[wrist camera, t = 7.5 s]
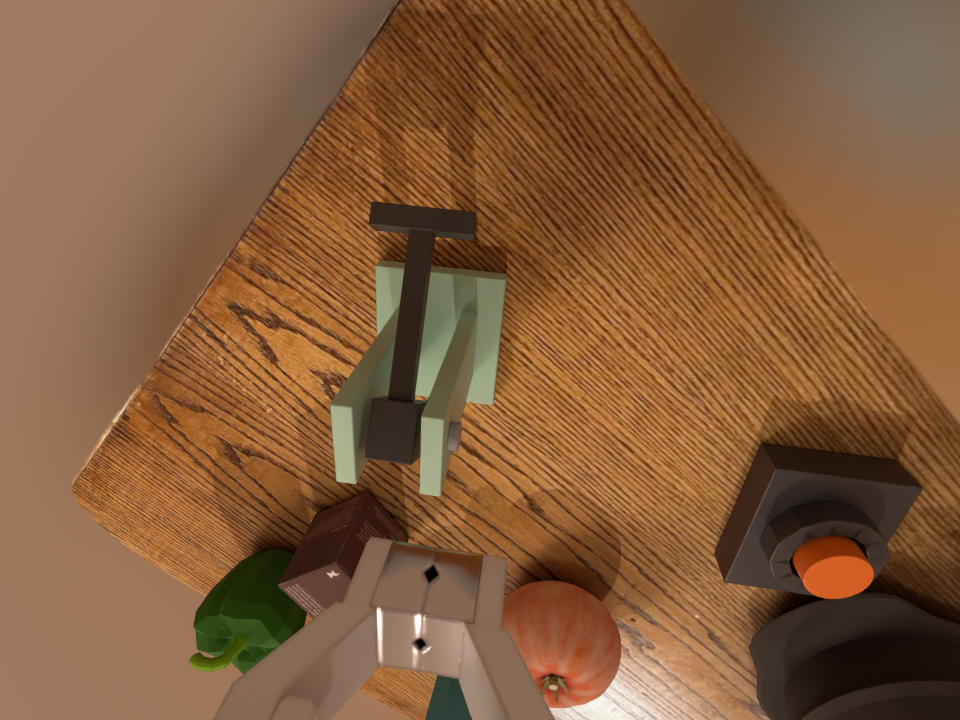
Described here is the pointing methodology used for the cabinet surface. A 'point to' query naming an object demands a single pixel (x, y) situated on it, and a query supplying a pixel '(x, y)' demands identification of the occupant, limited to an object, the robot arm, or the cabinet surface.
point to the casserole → (858, 662)
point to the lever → (409, 325)
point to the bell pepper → (246, 614)
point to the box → (335, 551)
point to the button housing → (810, 512)
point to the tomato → (563, 640)
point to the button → (833, 567)
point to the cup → (447, 701)
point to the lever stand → (426, 367)
